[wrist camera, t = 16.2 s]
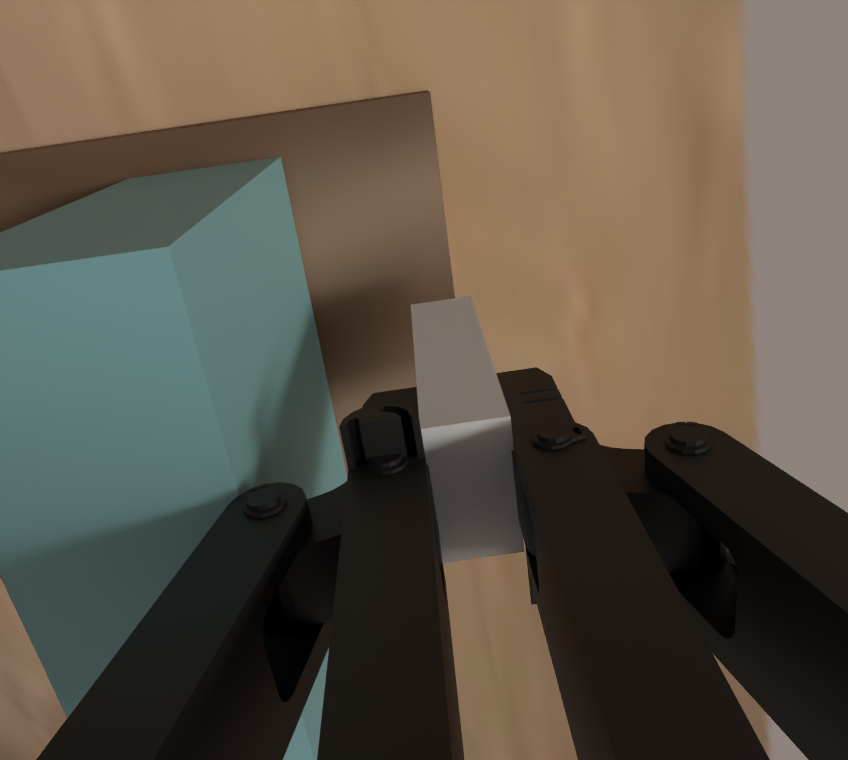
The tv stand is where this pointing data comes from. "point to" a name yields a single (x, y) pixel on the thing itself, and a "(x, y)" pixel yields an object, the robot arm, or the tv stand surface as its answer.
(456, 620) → the tv stand surface
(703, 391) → the tv stand surface
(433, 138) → the shelf
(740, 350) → the tv stand surface
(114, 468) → the teal rectangular block
